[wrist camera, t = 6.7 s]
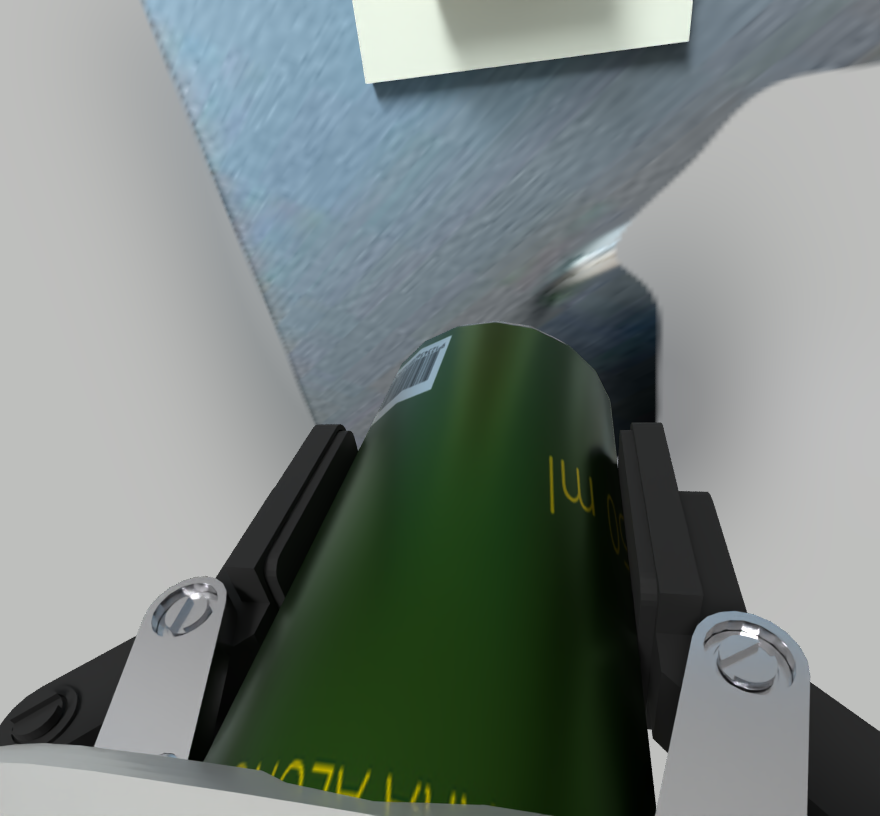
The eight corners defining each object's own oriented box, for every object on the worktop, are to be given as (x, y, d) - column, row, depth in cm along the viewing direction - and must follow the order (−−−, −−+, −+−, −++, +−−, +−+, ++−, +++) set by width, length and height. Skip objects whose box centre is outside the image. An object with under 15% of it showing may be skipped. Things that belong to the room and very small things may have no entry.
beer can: (360, 419, 15) (-22, 1130, 5) (470, 261, 12) (62, 1224, 2) (520, 517, 16) (446, 1281, 6) (660, 394, 13) (936, 1487, 3)
